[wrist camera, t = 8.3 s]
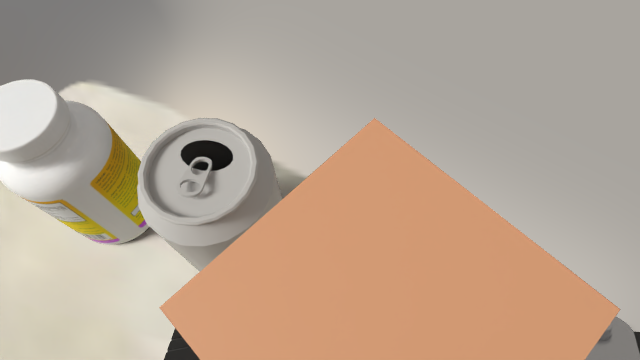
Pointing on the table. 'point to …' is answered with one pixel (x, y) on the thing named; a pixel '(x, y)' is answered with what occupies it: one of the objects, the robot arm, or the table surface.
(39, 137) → the supplement bottle
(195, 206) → the can
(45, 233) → the table surface
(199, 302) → the orange rectangular block
